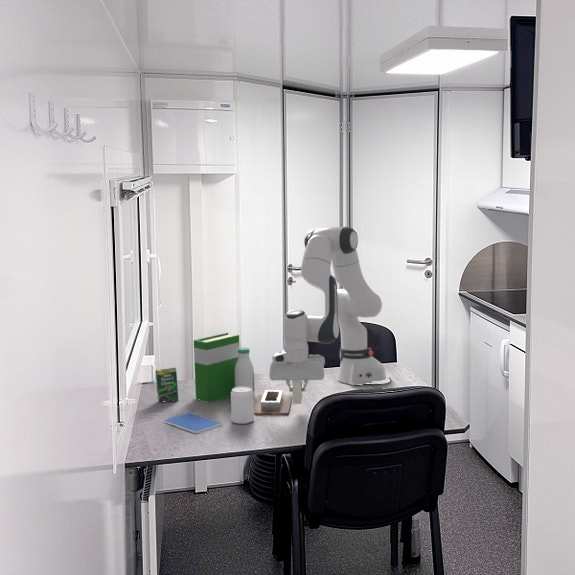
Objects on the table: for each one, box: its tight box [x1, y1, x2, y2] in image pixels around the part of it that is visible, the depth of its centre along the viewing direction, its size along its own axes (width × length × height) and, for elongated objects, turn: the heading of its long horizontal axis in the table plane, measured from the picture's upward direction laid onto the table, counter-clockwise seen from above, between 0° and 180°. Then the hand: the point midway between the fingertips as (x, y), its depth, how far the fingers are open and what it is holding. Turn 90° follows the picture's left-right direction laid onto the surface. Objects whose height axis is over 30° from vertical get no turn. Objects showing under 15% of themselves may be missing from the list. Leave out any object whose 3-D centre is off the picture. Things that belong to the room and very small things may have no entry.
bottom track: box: [261, 390, 284, 410], centre depth 288 cm, size 7×15×3 cm, turn 176°
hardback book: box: [193, 332, 241, 403], centre depth 301 cm, size 18×7×24 cm, turn 137°
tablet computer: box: [163, 412, 223, 435], centre depth 269 cm, size 19×13×1 cm, turn 46°
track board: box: [254, 394, 293, 416], centre depth 288 cm, size 14×22×1 cm, turn 176°
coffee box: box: [155, 367, 179, 403], centre depth 295 cm, size 8×3×13 cm, turn 110°
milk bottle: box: [235, 346, 255, 398], centre depth 298 cm, size 8×8×20 cm
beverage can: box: [230, 386, 255, 425], centre depth 270 cm, size 8×8×12 cm
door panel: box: [291, 380, 303, 405], centre depth 276 cm, size 3×10×8 cm, turn 176°
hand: (297, 391), depth 276 cm, fingers closed on door panel, 3 cm apart
